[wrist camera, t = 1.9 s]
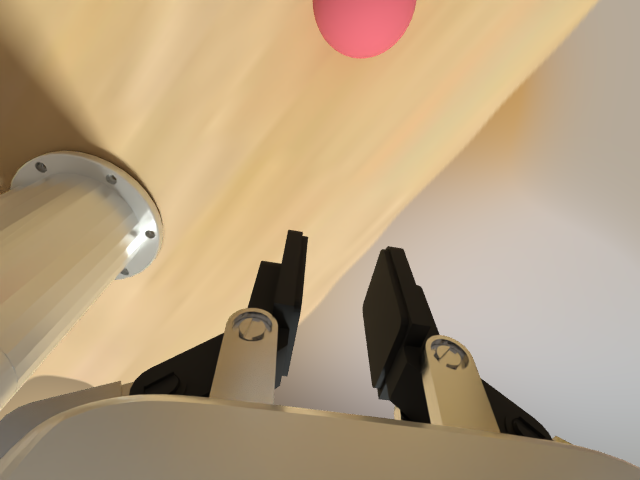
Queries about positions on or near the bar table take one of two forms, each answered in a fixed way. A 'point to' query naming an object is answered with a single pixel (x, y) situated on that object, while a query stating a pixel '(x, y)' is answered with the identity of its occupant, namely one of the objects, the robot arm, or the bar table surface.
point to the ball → (363, 24)
